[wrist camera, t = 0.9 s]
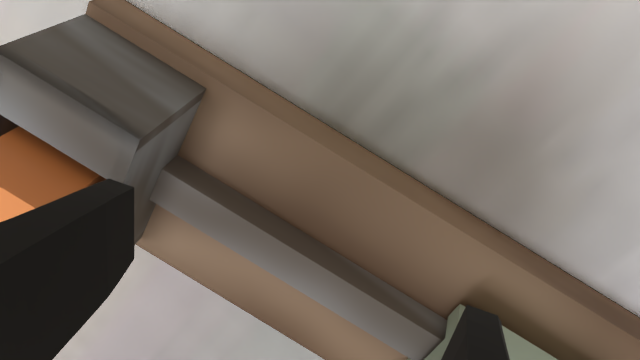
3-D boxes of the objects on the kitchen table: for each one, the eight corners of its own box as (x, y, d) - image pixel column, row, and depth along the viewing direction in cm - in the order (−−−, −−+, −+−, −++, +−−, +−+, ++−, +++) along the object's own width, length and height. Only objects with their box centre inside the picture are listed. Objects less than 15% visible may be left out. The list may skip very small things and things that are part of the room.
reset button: (94, 222, 21) (27, 281, 18) (22, 179, 21) (-56, 231, 18) (116, 162, 20) (47, 215, 17) (39, 114, 20) (-44, 160, 17)
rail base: (620, 511, 27) (649, 676, 22) (60, 169, 27) (-56, 250, 21) (792, 411, 22) (884, 592, 17) (113, -7, 22) (-19, 38, 16)
